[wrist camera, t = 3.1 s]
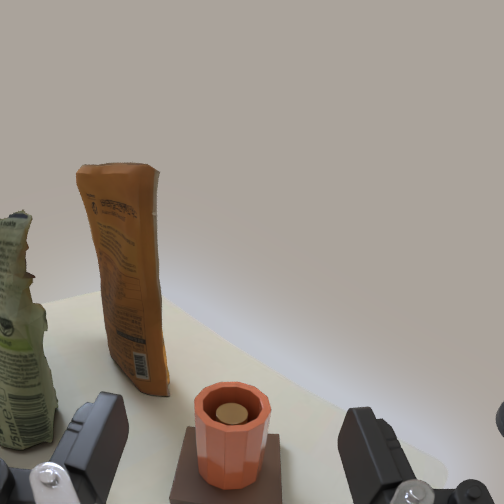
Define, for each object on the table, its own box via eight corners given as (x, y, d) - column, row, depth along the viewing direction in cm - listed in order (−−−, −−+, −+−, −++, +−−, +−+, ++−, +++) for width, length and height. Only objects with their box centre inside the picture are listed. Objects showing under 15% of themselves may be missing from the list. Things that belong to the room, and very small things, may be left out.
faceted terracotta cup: (269, 455, 28) (279, 393, 25) (246, 498, 22) (253, 441, 20) (215, 437, 30) (215, 374, 27) (187, 474, 24) (180, 414, 22)
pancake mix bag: (145, 416, 33) (126, 164, 25) (89, 343, 46) (73, 162, 38) (190, 396, 38) (190, 163, 30) (124, 332, 50) (116, 160, 42)
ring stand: (277, 442, 31) (289, 379, 29) (280, 515, 22) (298, 462, 19) (187, 434, 31) (183, 371, 29) (170, 505, 22) (157, 449, 19)
